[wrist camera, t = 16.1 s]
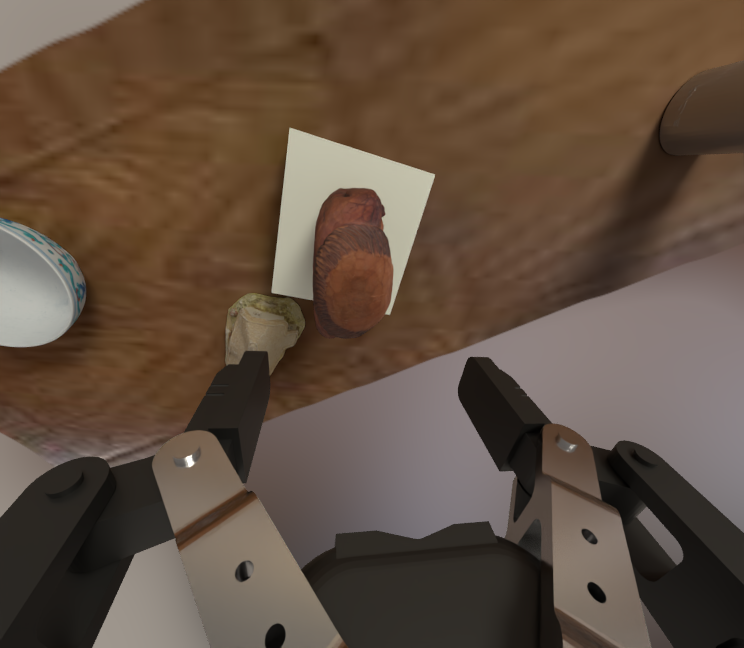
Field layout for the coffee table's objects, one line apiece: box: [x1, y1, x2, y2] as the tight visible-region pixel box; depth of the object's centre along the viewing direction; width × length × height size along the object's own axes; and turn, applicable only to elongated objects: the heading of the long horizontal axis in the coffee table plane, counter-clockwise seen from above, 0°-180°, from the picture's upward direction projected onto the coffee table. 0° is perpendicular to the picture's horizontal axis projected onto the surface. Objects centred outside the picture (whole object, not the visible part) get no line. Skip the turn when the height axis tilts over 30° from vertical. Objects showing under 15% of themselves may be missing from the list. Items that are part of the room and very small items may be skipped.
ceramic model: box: [225, 293, 305, 375], centre depth 40 cm, size 14×11×10 cm
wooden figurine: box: [312, 188, 394, 338], centre depth 26 cm, size 12×6×18 cm, turn 174°
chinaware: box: [0, 218, 86, 347], centre depth 32 cm, size 15×15×8 cm
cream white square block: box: [271, 128, 435, 315], centre depth 36 cm, size 16×18×6 cm
